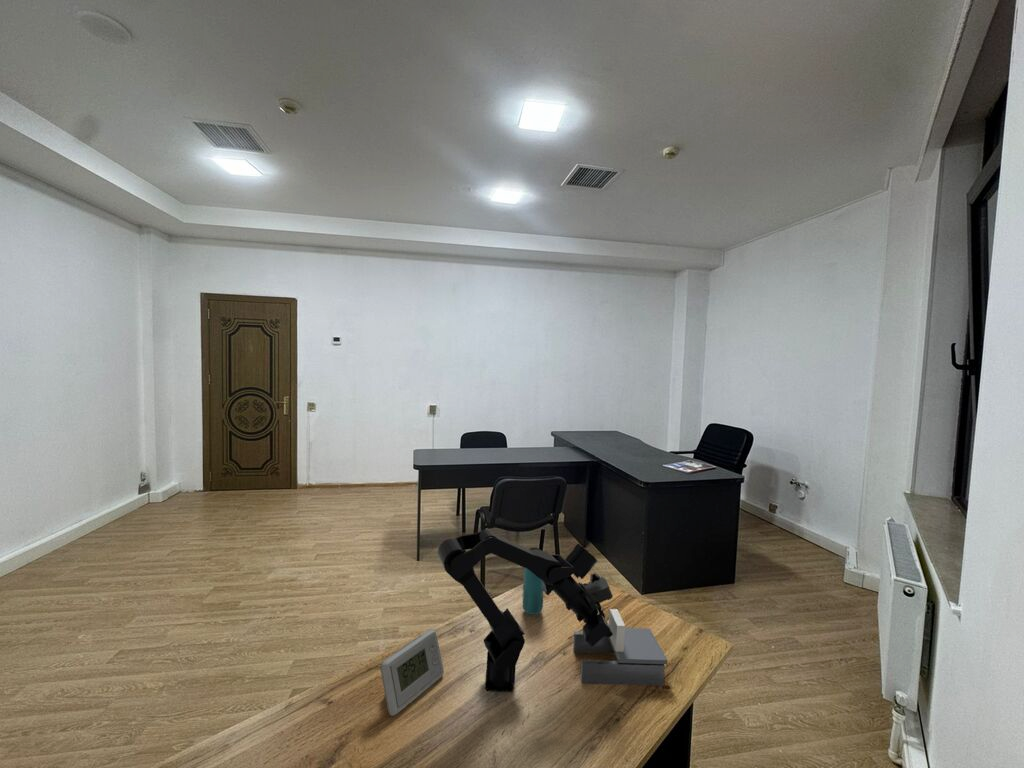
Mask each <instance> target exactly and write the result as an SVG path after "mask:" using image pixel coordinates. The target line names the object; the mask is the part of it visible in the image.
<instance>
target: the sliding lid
mask: <svg viewBox="0 0 1024 768" xmlns="http://www.w3.org/2000/svg"><path fill="white" fill-rule="evenodd" d="M608 616H609V617H608V625H609V627H610V630H611V632H612V634H613V635H612V636H611V637H608V638H609V640H610V643H611V645H612V648H613V650H614V653H613V654H614V656H615V658H616V661H618V663H644V664H664V665H668V659H667V657H666V655H665V653H664V652H663V650H662V648H661V646H660V644H659V642H658V640H657V639H656V637H655V635H654V633H653V631H652V630H651V628H642V627H641V628H640V627H639V628H638V627H626V625H625V622H624V620H623V618H622V616H621V614H620V612H619V610H618V609H617V608H610V609H609V615H608Z"/></svg>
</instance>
